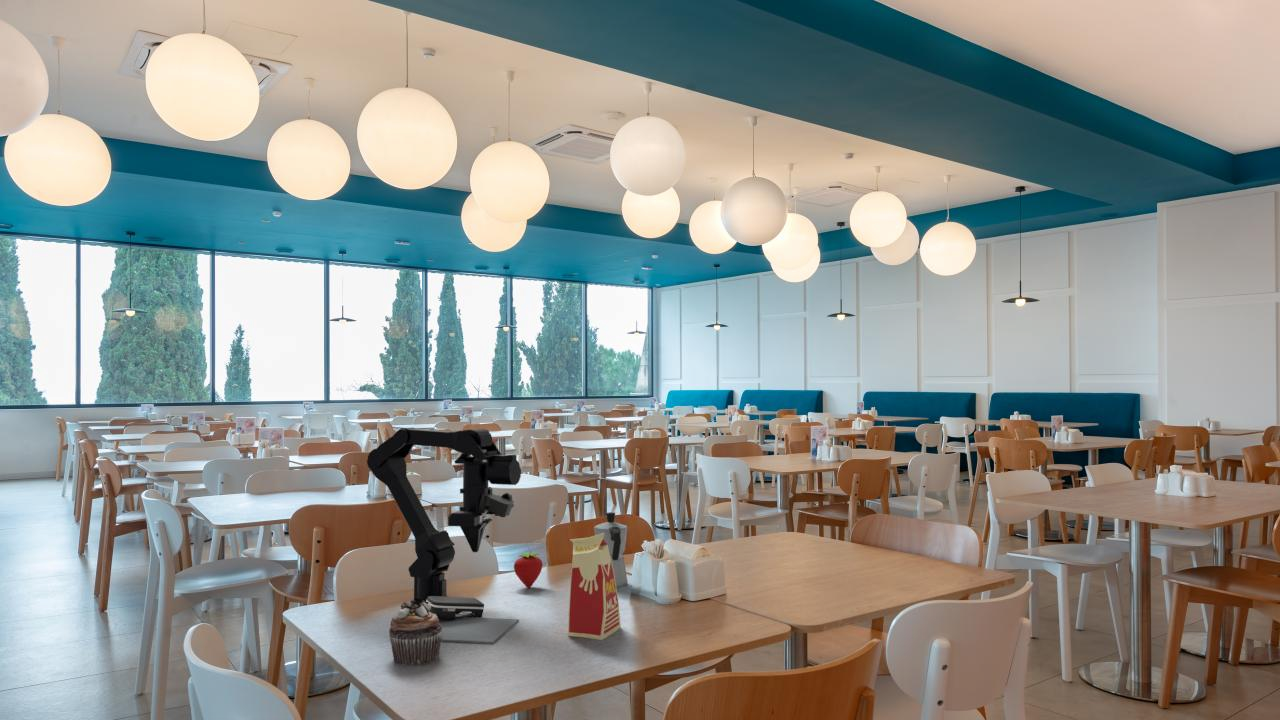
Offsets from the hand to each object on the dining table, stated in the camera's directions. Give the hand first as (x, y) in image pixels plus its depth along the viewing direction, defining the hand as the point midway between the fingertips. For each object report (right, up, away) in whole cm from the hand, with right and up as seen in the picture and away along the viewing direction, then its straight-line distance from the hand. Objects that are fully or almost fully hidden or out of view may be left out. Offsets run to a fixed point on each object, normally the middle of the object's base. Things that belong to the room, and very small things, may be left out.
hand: (475, 552), depth 185 cm
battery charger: (+3, -10, -9) cm, 14 cm away
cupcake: (-3, -11, -38) cm, 39 cm away
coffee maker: (+31, -13, +19) cm, 38 cm away
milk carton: (+28, -11, -21) cm, 37 cm away
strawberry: (+10, -13, +16) cm, 23 cm away
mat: (+2, -11, -20) cm, 23 cm away
